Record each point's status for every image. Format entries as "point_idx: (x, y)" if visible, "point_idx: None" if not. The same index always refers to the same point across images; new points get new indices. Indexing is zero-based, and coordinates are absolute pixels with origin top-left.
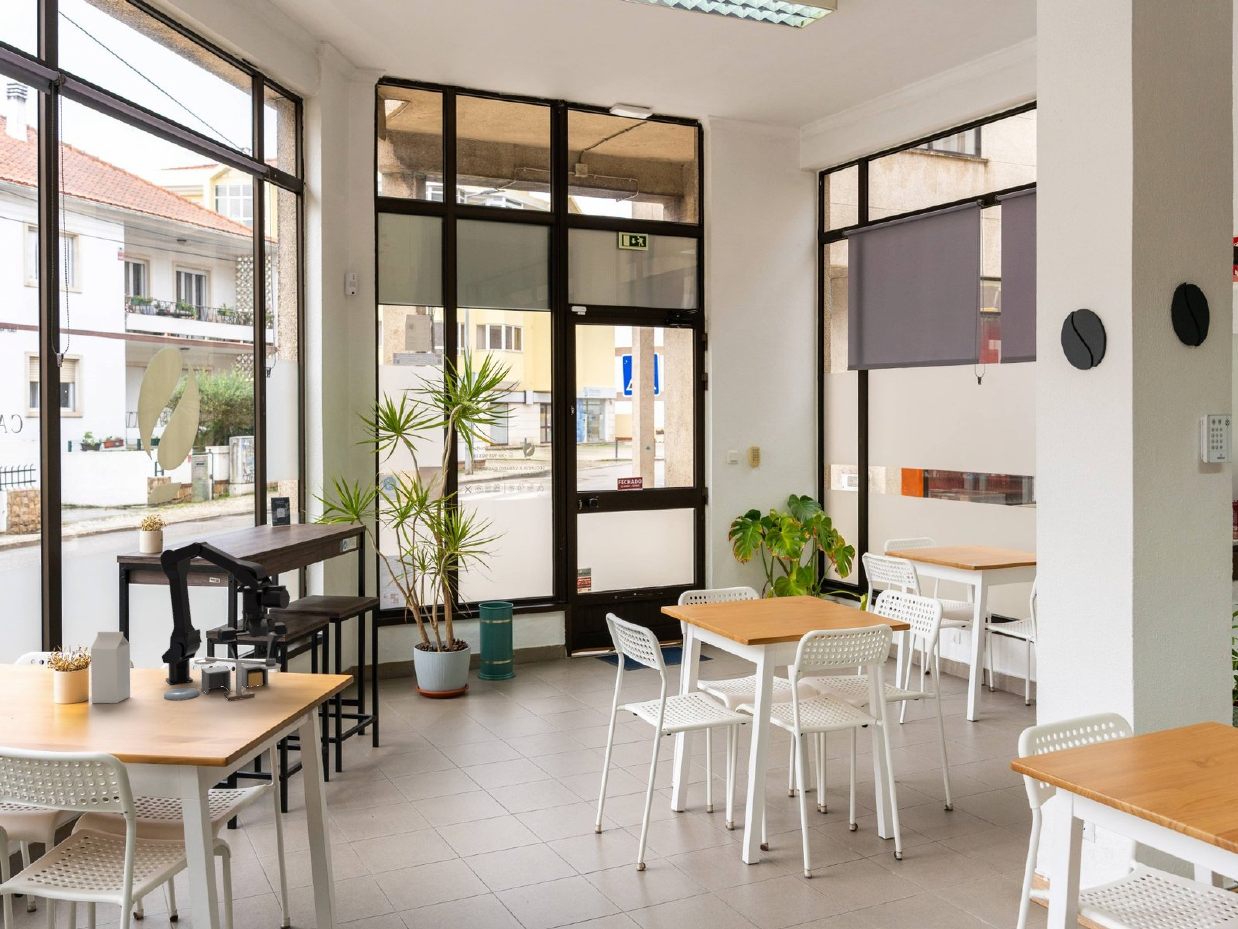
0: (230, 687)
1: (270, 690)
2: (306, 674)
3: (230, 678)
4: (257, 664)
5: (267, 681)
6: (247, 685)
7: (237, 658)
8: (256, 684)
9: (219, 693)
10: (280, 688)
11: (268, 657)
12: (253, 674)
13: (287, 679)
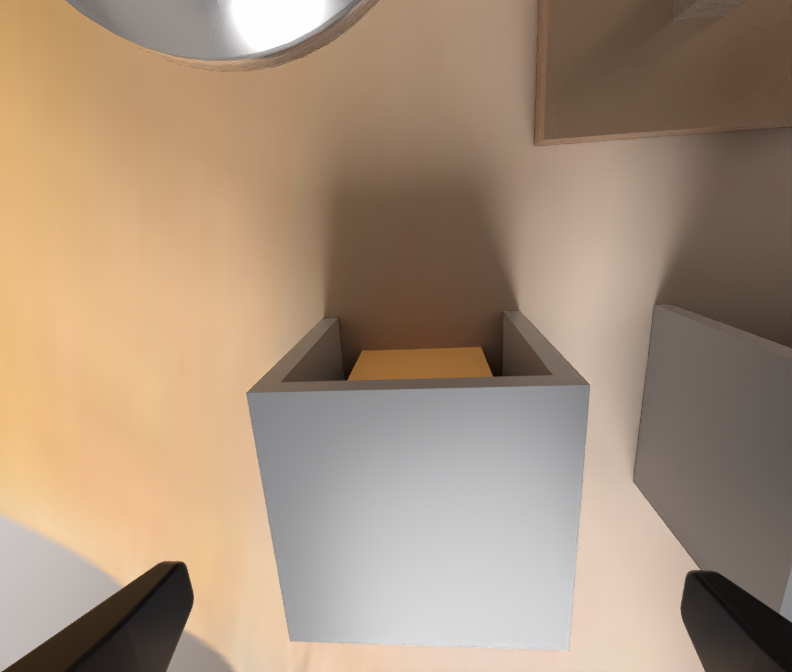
0: (673, 313)
1: (332, 129)
2: (21, 506)
3: (739, 339)
4: (369, 516)
5: (317, 327)
6: None
7: (767, 636)
8: (412, 354)
9: (773, 268)
10: (237, 161)
11: (178, 596)
12: None
13: (156, 440)
